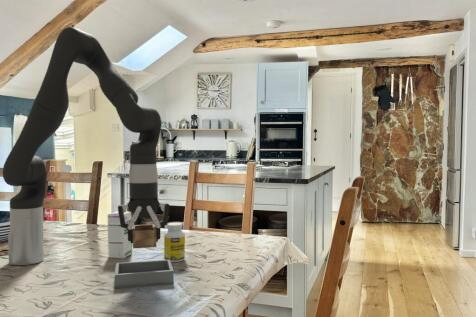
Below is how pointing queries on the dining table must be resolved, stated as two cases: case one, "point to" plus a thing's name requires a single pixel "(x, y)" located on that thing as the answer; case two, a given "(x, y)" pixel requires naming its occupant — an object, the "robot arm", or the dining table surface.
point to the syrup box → (118, 236)
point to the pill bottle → (174, 243)
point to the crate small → (144, 236)
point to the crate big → (143, 273)
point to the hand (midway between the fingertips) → (144, 241)
